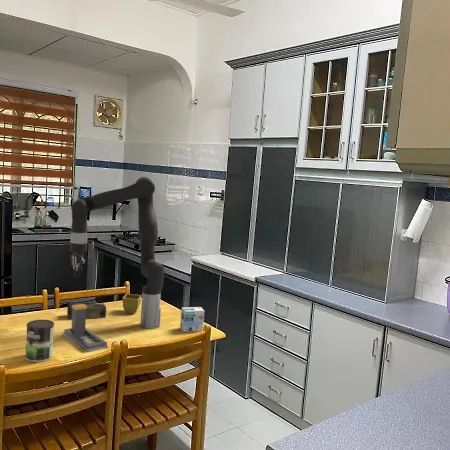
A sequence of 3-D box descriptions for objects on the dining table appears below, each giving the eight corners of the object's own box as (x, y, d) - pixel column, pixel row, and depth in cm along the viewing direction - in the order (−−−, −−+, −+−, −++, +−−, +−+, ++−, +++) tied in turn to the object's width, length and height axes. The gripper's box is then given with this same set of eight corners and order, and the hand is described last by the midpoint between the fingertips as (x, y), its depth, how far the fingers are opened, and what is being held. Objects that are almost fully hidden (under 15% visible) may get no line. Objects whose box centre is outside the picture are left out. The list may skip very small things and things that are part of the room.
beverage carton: (106, 318, 240) (106, 306, 239) (67, 320, 232) (68, 307, 231) (104, 313, 247) (104, 301, 246) (66, 315, 239) (67, 303, 239)
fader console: (63, 334, 212) (63, 329, 211) (83, 330, 218) (83, 325, 218) (86, 352, 194) (86, 346, 194) (107, 347, 201) (108, 342, 200)
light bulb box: (183, 332, 227) (184, 311, 226) (179, 327, 234) (180, 307, 232) (203, 331, 231) (205, 310, 230) (199, 326, 238) (200, 306, 236)
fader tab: (70, 333, 211) (71, 305, 209) (81, 331, 214) (83, 303, 213) (74, 335, 208) (75, 307, 206) (85, 333, 212) (86, 305, 210)
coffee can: (40, 364, 179) (41, 329, 178) (19, 358, 183) (20, 324, 181) (58, 355, 189) (59, 322, 187) (38, 350, 192) (39, 317, 191)
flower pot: (137, 315, 248) (138, 299, 247) (121, 314, 248) (122, 297, 247) (140, 310, 257) (141, 294, 256) (125, 309, 257) (126, 293, 256)
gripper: (65, 239, 219) (63, 275, 221) (77, 244, 209) (75, 281, 211) (80, 239, 224) (78, 273, 226) (92, 243, 214) (91, 280, 216)
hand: (77, 277), depth 218 cm, fingers closed
